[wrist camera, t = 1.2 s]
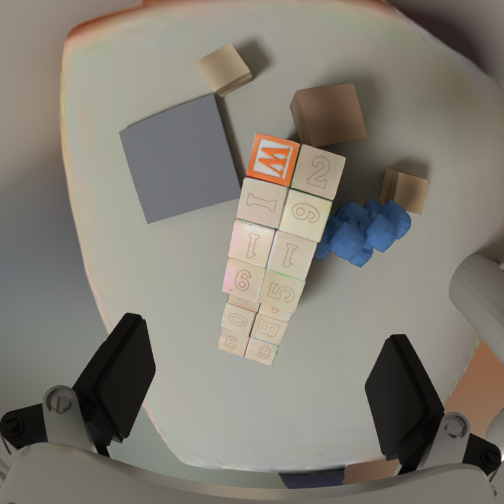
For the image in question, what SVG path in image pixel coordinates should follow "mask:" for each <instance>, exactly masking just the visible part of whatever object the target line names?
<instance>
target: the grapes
mask: <svg viewBox="0 0 504 504" xmlns="http://www.w3.org/2000/svg"><path fill="white" fill-rule="evenodd" d="M410 226H411V218H410V216H409V214H408V213H406V212H405V211H404V210H403V208H402V207H401V206H399V205H398V204H397V203H395V202H394V201H392V200H390V199H389V200H388V201H387V202H386V203H385V205H384V206H382V205H381V204H379V203H378V202H376V201H375V200H373V199H370V200H369V201H368V202H367V203H366V204H365V205H364V206H363V207H362V206H360V205H358V204H356V203H354V202H352V201H351V202H350V203H349V204H348V203H346V202H345V203H344V204H343V205H342V206H341V207H340V208H339V209H338V211H337V213H336V215H335V216H334V215H333V214H331V213H329V216H328V219H327V222H326V225H325V228H324V232H323V235H322V238H321V241H320V242H319V243H318V244H317V247H316V250H315V253H314V256H313V257H315V258H317V259H321V260H322V259H323V258H324V257H326V256H327V255H328V253H329V252H330V251H331V250H332V251H333V252H334V253H335V254H336V255H337V256H339V257H341V258H343V259H345V260H348V261H349V262H350V263H351V264H353V265H356V266H358V267H362V266H363V265H364V264H365V263H366V262H367V261H368V260H369V259H370V258H371V256H372V253H373V248H374V249H376V250H378V251H381V252H384V251H385V250H386V249H388V248H389V247H390V246H391V245H392V244H393V242H394V241H395V240H396V239H397V240H399V239H400V238H401V237H403V236H404V235H405V234H406V233H407V231H408V230H409V229H410Z"/></svg>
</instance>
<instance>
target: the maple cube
mask: <svg viewBox="0 0 504 504" xmlns="http://www.w3.org/2000/svg"><path fill="white" fill-rule="evenodd" d="M195 63H196V64H197V66H198V67H199V69H200V70H201V72H202V73H203V75H204V76H205V78H206V79H207V81H208V82H209V84H210V85H211V87H212V88H213V90H214V91H215V92H216V93H217V94H218V95H219V96H220V97H221V98H222V97H224V96H225V95H227V94H229V93H231V92H232V91H234V90H236V89H238V88H240V87H241V86H243V85H245V84H247V83H249V82H251V81H253V79H252V75H251V72H250V70H249V69H248V67H247V66H246V64H245V63H244V62H243V60H242V59H241V57H240V56H239V54H238V53H237V52H236V50H235V49H234V48H233V46H232V45H231V43H229V44H227V45H225V46H223V47H221V48H219V49H218V50H216V51H214V52H212V53H211V54H209V55H207V56H205V57H204V58H202V59H200V60H199V61H197V62H195Z"/></svg>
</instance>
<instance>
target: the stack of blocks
mask: <svg viewBox="0 0 504 504" xmlns="http://www.w3.org/2000/svg"><path fill="white" fill-rule="evenodd" d="M345 161H346V157H343V156H340V155H337V154H334V153H331V152H328V151H324V150H321V149H318V148H315V147H311V146H308V145H305V144H303V145H302V144H299V143H296V142H293V141H289V140H285V139H281V138H277V137H273V136H269V135H264V134H259V133H256V134H255V138H254V142H253V146H252V151H251V155H250V159H249V164H248V168H247V172H246V177H245V178H244V181H243V186H242V190H241V196H240V200H239V205H238V211H237V219H235V221H234V226H233V231H232V236H231V241H230V247H229V252H228V256H229V258H228V260H227V265H226V270H225V276H224V281H223V287H222V291H223V292H226V293H229V296H228V300H227V302H226V305H225V309H224V314H223V318H222V323H221V326H222V329H221V333H220V338H219V342H218V348H220V349H223V350H225V351H228V352H231V353H233V354H236V355H239V356H242V357H246V358H249V359H252V360H254V361H257V362H261V363H264V364H267V365H270V366H271V365H272V363H273V360H274V358H275V355H276V353H277V350H278V347H279V345H280V344H281V341H282V339H283V336H284V333H285V331H286V328H287V326H288V323H289V321H290V318H291V315H292V314H294V313H295V311H296V308H297V306H298V303H299V300H300V297H301V294H302V291H303V288H304V286H305V283H306V277H307V274H308V271H309V268H310V265H311V262H312V259H313V256H314V253H315V250H316V247H317V244H318V243H319V242H320V241H321V238H322V235H323V232H324V228H325V225H326V222H327V219H328V216H329V213H330V210H331V206H332V201H333V200H334V198H335V195H336V192H337V189H338V185H339V182H340V179H341V175H342V172H343V168H344V165H345Z"/></svg>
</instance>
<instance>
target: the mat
mask: <svg viewBox="0 0 504 504" xmlns="http://www.w3.org/2000/svg"><path fill="white" fill-rule="evenodd" d="M119 133H120V137H121V141H122V144H123V148H124V152H125V155H126V159H127V162H128V165H129V169H130V172H131V175H132V178H133V182H134V185H135V188H136V191H137V194H138V197H139V200H140V203H141V206H142V209H143V212H144V215H145V217H146V220H147V223H148V224H149V223H152V222H156V221H159V220H162V219H165V218H169V217H172V216H175V215H179V214H182V213H186V212H189V211H193V210H196V209H200V208H203V207H207V206H210V205H214V204H218V203H221V202H225V201H229V200H233V199H237V198H240V196H241V190H242V188H241V184H240V181H239V177H238V173H237V170H236V166H235V163H234V159H233V156H232V152H231V149H230V145H229V142H228V138H227V135H226V131H225V128H224V124H223V121H222V117H221V114H220V110H219V107H218V103H217V100H216V96H215V95H214V94H211V95H208V96H205V97H202V98H199V99H196V100H193V101H191V102H188V103H185V104H182V105H180V106H177V107H174V108H172V109H169V110H167V111H164V112H162V113H160V114H157V115H155V116H152V117H150V118H148V119H146V120H143V121H141V122H139V123H137V124H135V125H132V126H130V127H128V128H126V129H124V130H122V131H120V132H119Z"/></svg>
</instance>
